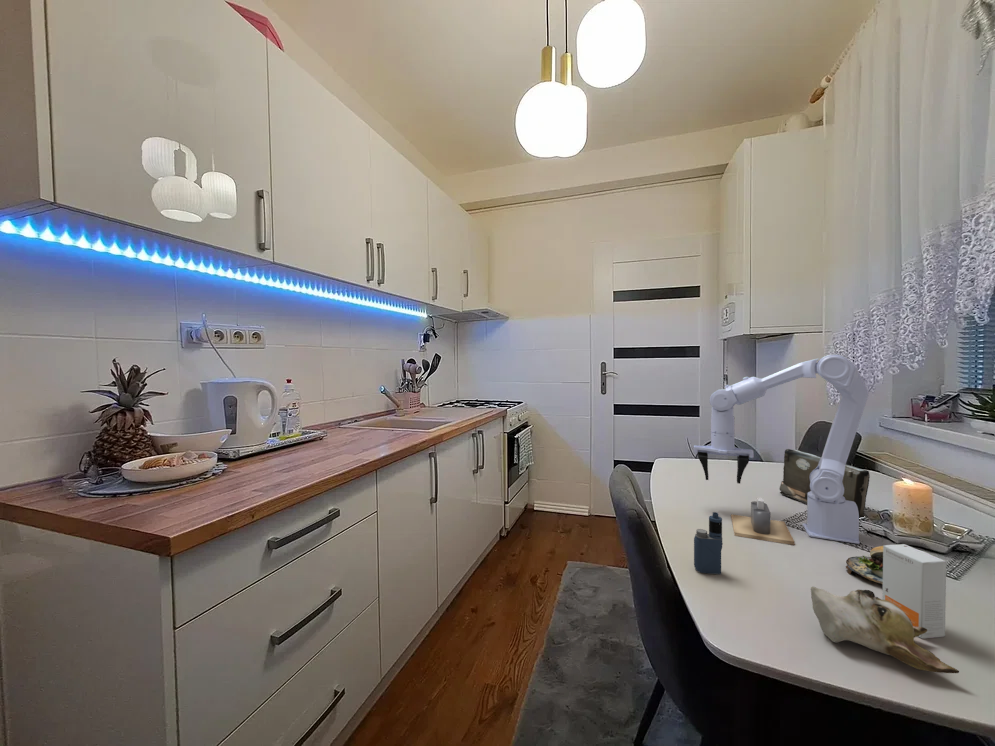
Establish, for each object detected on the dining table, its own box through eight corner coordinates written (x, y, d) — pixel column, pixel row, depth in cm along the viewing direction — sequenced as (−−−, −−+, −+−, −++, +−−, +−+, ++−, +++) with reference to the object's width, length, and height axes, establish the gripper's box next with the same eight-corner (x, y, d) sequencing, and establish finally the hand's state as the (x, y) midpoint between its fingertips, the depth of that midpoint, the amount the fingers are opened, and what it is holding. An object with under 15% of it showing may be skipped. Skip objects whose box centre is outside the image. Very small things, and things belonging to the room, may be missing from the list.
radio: (876, 521, 106) (877, 465, 106) (846, 522, 106) (847, 466, 105) (802, 493, 129) (802, 447, 129) (777, 494, 129) (777, 448, 128)
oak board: (784, 524, 104) (784, 521, 104) (794, 545, 93) (794, 541, 93) (731, 517, 110) (731, 514, 110) (734, 535, 98) (734, 532, 98)
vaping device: (724, 575, 80) (724, 515, 80) (696, 572, 81) (696, 514, 81) (719, 568, 83) (720, 511, 82) (692, 566, 84) (692, 509, 83)
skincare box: (880, 615, 67) (881, 544, 67) (903, 613, 68) (904, 543, 67) (922, 640, 61) (922, 562, 61) (947, 638, 61) (948, 560, 61)
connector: (765, 521, 105) (766, 494, 105) (771, 535, 96) (771, 506, 96) (750, 519, 106) (750, 493, 106) (754, 532, 98) (754, 504, 98)
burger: (838, 576, 80) (838, 539, 80) (853, 558, 87) (853, 524, 87) (925, 605, 70) (926, 563, 70) (934, 582, 77) (935, 543, 77)
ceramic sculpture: (805, 561, 68) (928, 590, 61) (801, 611, 68) (923, 645, 61) (819, 594, 58) (966, 632, 51) (814, 651, 59) (959, 697, 52)
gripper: (693, 432, 111) (693, 481, 112) (755, 436, 105) (754, 488, 105) (693, 429, 118) (693, 475, 118) (752, 432, 111) (751, 481, 111)
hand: (722, 480), depth 112 cm, fingers open, 7 cm apart
